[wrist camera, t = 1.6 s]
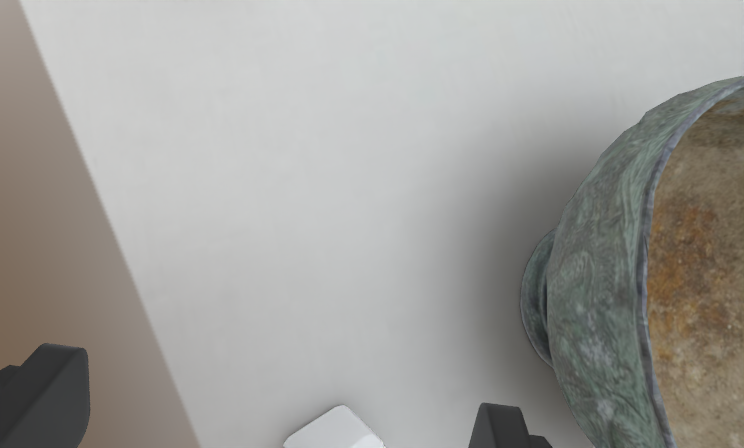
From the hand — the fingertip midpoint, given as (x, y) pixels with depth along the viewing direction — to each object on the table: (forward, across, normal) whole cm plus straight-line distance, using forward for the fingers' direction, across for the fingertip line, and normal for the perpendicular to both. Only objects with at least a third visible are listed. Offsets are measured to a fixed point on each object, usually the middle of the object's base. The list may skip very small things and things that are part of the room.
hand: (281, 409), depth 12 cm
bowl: (+23, -17, +8) cm, 29 cm away
